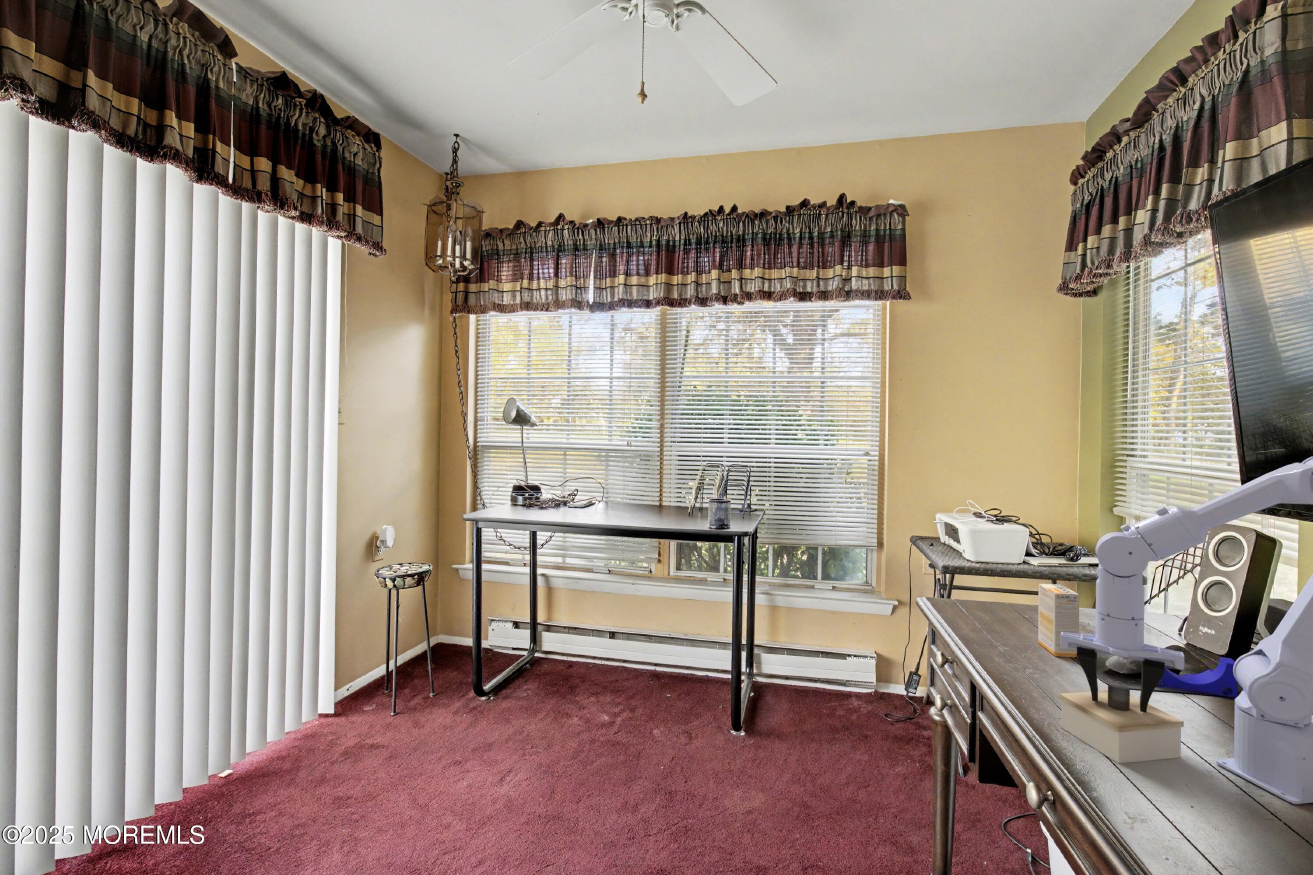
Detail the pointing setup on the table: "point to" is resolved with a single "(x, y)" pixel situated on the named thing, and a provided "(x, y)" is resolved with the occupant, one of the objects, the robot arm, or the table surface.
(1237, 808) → the table surface
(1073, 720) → the cream box
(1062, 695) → the oak lid
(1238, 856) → the table surface
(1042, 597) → the supplement box
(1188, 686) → the blue concave arch block
